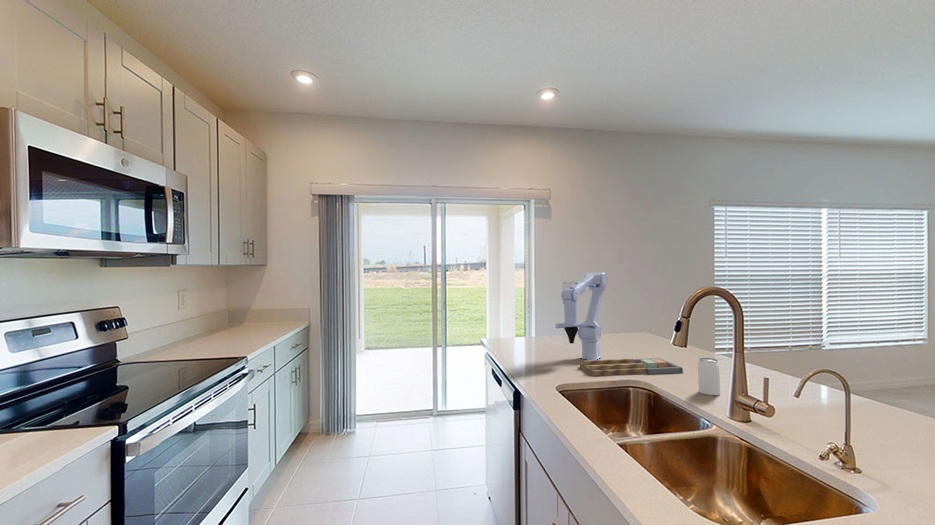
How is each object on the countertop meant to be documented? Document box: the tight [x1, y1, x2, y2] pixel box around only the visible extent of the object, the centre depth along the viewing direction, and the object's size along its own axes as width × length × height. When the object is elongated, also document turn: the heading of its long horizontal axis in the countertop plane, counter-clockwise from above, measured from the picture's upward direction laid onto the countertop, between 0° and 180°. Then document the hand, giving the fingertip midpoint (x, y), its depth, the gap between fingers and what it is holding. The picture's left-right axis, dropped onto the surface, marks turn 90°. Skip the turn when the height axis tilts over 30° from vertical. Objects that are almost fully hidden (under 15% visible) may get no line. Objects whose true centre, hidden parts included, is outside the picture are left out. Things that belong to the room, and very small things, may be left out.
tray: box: [633, 357, 684, 375], centre depth 163 cm, size 15×16×2 cm
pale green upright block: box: [641, 358, 657, 369], centre depth 163 cm, size 4×6×3 cm, turn 4°
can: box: [697, 357, 721, 396], centre depth 131 cm, size 6×6×12 cm
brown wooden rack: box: [579, 358, 648, 377], centre depth 162 cm, size 24×14×4 cm, turn 94°
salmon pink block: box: [649, 358, 667, 368], centre depth 163 cm, size 4×6×3 cm, turn 4°
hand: (571, 343), depth 171 cm, fingers closed
